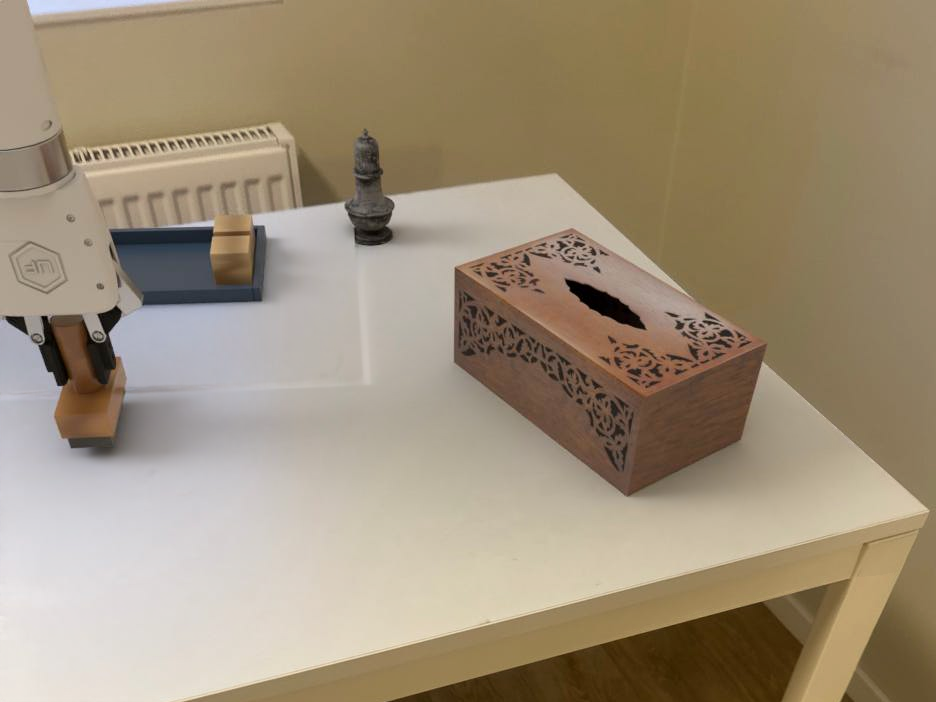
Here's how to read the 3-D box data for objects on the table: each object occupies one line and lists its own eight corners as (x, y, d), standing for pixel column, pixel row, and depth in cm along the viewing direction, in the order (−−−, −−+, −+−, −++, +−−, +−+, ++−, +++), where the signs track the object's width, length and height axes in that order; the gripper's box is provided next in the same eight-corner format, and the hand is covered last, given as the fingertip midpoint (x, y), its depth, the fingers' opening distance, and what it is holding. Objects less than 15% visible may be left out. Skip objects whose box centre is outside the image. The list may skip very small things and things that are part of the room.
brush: (65, 450, 84) (28, 348, 77) (82, 391, 90) (49, 291, 83) (117, 447, 85) (85, 346, 77) (130, 389, 91) (102, 290, 83)
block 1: (219, 266, 107) (212, 231, 104) (221, 249, 110) (215, 215, 107) (255, 265, 108) (250, 230, 105) (257, 248, 110) (251, 214, 107)
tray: (73, 314, 101) (67, 293, 100) (95, 248, 111) (89, 229, 109) (262, 307, 103) (259, 287, 101) (267, 244, 113) (264, 224, 111)
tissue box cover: (740, 439, 90) (767, 343, 82) (626, 496, 84) (644, 397, 76) (563, 320, 103) (572, 228, 96) (453, 361, 97) (454, 266, 90)
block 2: (216, 289, 104) (209, 253, 101) (218, 271, 107) (212, 236, 104) (253, 288, 104) (248, 252, 101) (255, 270, 107) (250, 235, 104)
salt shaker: (358, 250, 112) (351, 142, 104) (338, 229, 116) (329, 123, 107) (404, 240, 114) (400, 133, 106) (383, 220, 118) (378, 114, 109)
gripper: (-117, 181, 67) (-22, 405, 81) (123, 176, 69) (176, 397, 82) (-87, 139, 72) (-2, 357, 86) (136, 135, 74) (184, 350, 87)
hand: (85, 374), depth 84 cm, fingers closed on brush, 2 cm apart
